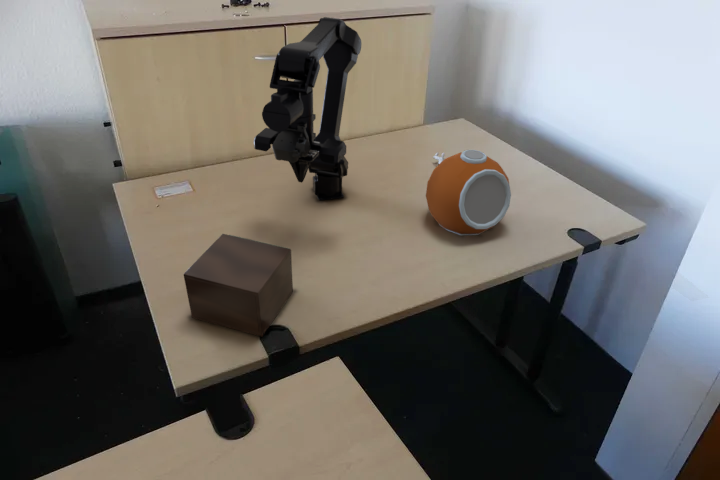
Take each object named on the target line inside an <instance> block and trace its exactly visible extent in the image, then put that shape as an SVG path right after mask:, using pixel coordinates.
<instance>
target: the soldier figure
mask: <svg viewBox="0 0 720 480" xmlns="http://www.w3.org/2000/svg"><path fill="white" fill-rule="evenodd" d="M439 154H440V153H439V152H438V151H437V152H436V153H435V154H434V155H433V156H432V159H435V160H436V161H437V163H438V165H439V164H440V163H441V162H442V161H443V160H444V159H445V152H442V153H441V156H439Z"/></svg>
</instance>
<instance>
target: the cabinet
mask: <svg viewBox="0 0 720 480" xmlns="http://www.w3.org/2000/svg"><path fill="white" fill-rule="evenodd" d="M231 235H232V234H225V233H222V234H221V235H219V236H218V237H217V238H216V239H215V241H214V242H213V243H212V244H211V245H210V246H209V247H208V248H207V249H206V250H205V251H203V253H202V254H201V255H200V257H198V258H197V259H196V260H195V261H194V262H193V264H192V265H190V266H189V267H188V268H187V270H186V271H185V272H184V273H183V279H184V285H185V289H186V295H187V300H188V305H189V310H190V315H191V318H192V319H195V320H200V321H203V322H205V323H206V322H207V323H210V324H213V325H217V326H221V327H225V328H229V329H232V330H236V331H239V332H243V333H247V334H249V335H254V336H257V337H261V338H262V337H264V335H265V334H266V332H267V331H268V329H269V328H270V326H271V325H272V323H274V320H275V319H276V317H277V316H278V314H279V313H280V311H281V310H282V308H283V307H284V306H285V304H286V303H287V301H288V300H289V298H290V297H291V295H292V294H293V292H294V286H293V265H292V262H293V261H292V249H291V248H290V249H288V248H289V247H286V248H283V247H284V246H281V247H279V246H280V245H277V246H275V245H276V244H273V245H270V244H271V243H268V244H266V243H267V242H264V243H261V242H262V241H260V242H257V241H258V240H255V241H253V240H254V239H251V240H248V239H249V238H246V239H244V238H245V237H242V238H240V237H241V236H238V237H235V236H236V235H233V236H231Z"/></svg>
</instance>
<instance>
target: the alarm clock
mask: <svg viewBox="0 0 720 480" xmlns="http://www.w3.org/2000/svg"><path fill="white" fill-rule="evenodd" d="M511 197H512V192H511V186H510V179H509V177H508V176H507V173H506V172H505V171H504V169H503V167H502V166H501V165H500V163H499V162H498V161H496V160H494V159H493V158H491V157H490V156H487V155H486V153H484V152H483V151H480V150H478V149H477V150H476V149H466V150H463V151H462V152H458V153H455V154H453V155H451V156H447V157H446V158H444V160H443V161H442V162H441V163H440V164H439V163H438V165H437V166H436V167H434V169H433V170H432V172H431V174H430V177H429V178H428V180H427V182H426V191H425V198H426V203H427V208H428V211H429V213H430V214H431V216H432V217H433V219H434V220H435V221H436V223H437V224H438V225H439V226H440V227H442V228H443V229H444V230H446V231H447V232H450V233H453V234H455V235H458V236H478V235H481V234H482V233H484V232H486V231H488V230H490V229H493V228H494V227H495V226H497V224H498V223H499V222H500V221H502V219H503V218H504V217H505V216H506V214H507V212H508V210H509V208H510V204H511Z"/></svg>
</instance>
